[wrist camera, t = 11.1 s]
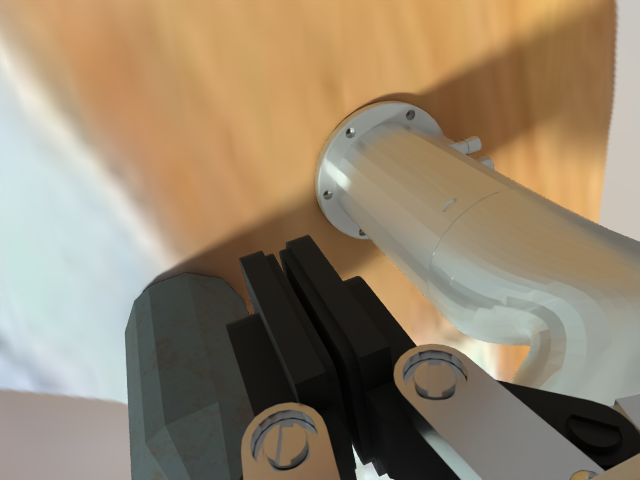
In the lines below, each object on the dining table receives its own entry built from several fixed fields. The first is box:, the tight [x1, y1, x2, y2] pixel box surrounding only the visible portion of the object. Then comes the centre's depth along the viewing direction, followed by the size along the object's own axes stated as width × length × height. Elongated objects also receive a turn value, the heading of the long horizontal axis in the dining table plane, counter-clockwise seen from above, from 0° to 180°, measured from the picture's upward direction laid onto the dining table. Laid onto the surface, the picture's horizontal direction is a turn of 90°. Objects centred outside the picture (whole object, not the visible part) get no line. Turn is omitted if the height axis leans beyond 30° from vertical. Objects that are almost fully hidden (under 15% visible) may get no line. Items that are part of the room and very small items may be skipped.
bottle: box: [125, 273, 255, 480], centre depth 31 cm, size 10×10×30 cm
